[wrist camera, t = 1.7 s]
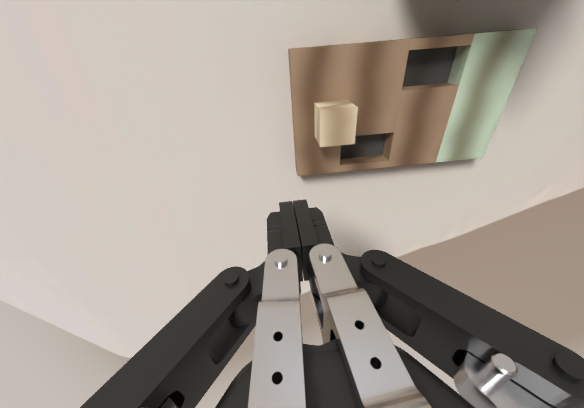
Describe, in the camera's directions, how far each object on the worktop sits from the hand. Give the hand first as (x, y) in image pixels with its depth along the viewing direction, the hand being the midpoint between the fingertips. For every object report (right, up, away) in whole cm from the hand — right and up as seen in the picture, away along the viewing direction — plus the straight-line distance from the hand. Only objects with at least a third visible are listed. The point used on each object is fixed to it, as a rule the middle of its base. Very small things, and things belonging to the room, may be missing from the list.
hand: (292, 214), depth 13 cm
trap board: (+14, +13, +18) cm, 26 cm away
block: (+5, +11, +16) cm, 20 cm away
